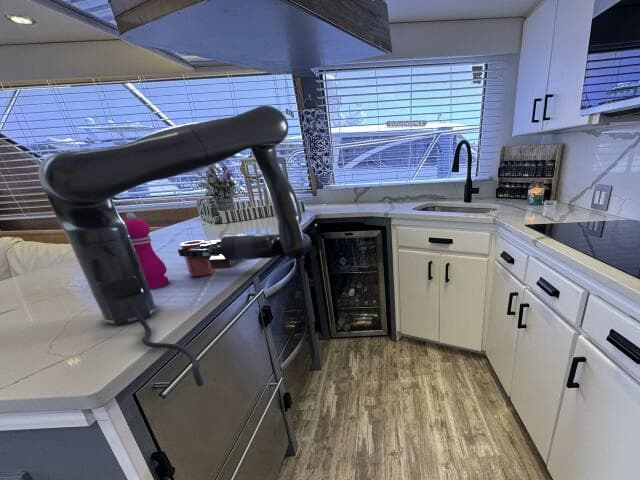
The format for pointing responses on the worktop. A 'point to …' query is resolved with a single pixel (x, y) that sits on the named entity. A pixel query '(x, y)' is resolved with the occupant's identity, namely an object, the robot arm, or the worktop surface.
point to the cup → (197, 260)
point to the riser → (222, 262)
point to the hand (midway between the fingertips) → (186, 249)
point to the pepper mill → (146, 252)
